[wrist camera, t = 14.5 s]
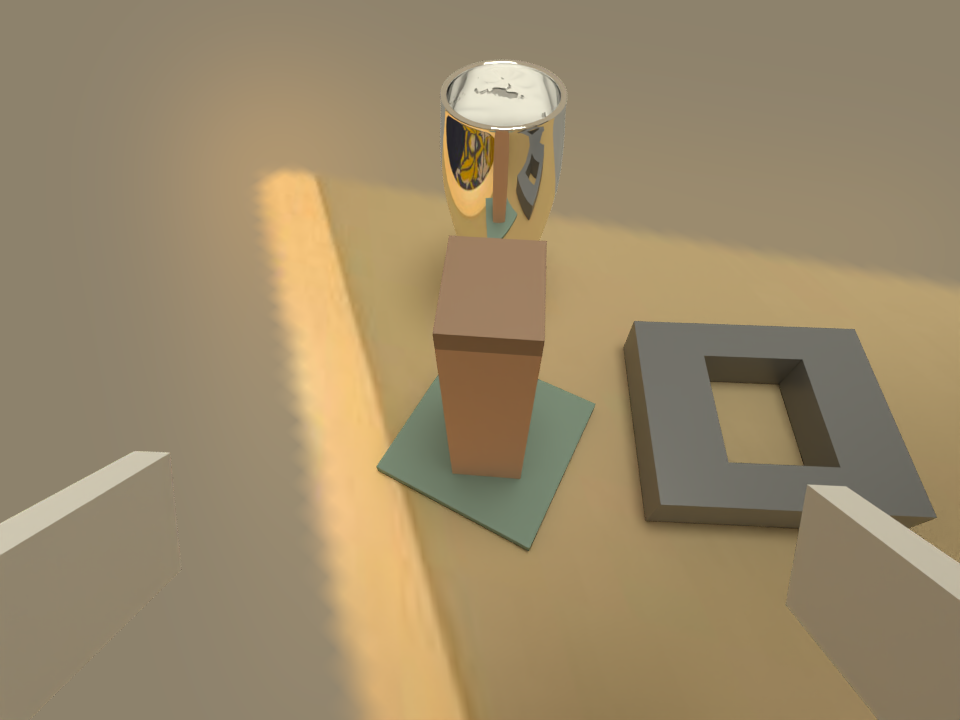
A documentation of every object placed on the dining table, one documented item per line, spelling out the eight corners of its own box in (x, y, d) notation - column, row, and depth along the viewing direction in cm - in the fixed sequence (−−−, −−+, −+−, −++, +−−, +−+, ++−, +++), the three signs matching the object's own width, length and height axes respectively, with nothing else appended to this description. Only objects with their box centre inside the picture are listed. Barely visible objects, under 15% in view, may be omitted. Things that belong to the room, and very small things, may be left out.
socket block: (827, 355, 35) (854, 329, 33) (897, 532, 29) (937, 517, 26) (623, 347, 36) (634, 321, 33) (645, 520, 29) (660, 504, 26)
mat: (593, 408, 33) (595, 404, 32) (528, 550, 28) (529, 548, 28) (458, 349, 36) (458, 344, 35) (378, 470, 31) (376, 466, 30)
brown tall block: (523, 403, 32) (546, 241, 21) (520, 479, 30) (544, 341, 18) (461, 399, 33) (449, 235, 21) (452, 473, 30) (432, 333, 18)
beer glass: (501, 240, 41) (509, 43, 29) (561, 290, 38) (600, 95, 26) (432, 282, 39) (408, 87, 26) (491, 338, 36) (496, 150, 23)
